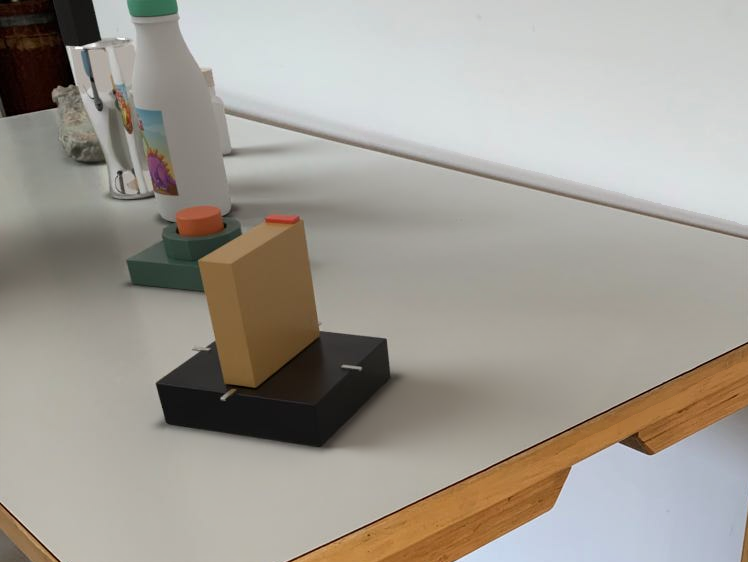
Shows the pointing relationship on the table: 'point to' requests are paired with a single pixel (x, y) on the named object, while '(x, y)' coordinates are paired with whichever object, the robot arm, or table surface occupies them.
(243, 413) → the black base
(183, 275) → the button block
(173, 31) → the milk bottle
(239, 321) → the tan wooden block
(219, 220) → the button
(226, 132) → the pepper shaker
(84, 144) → the long grey stone
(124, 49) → the beer glass
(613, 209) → the table surface
